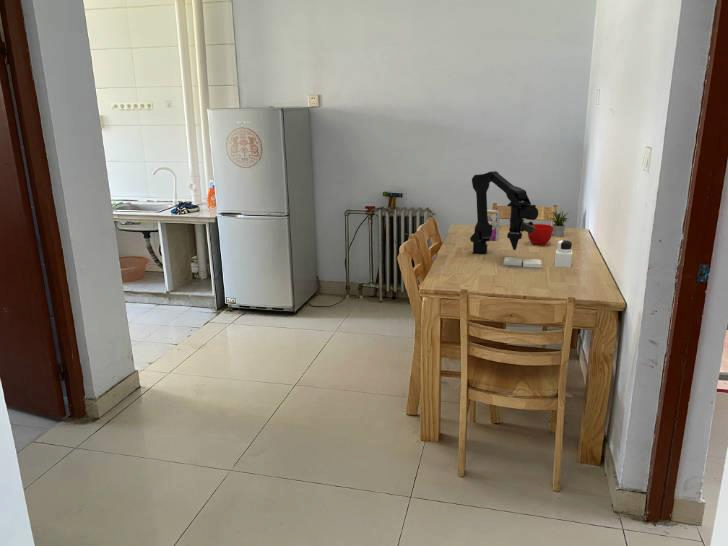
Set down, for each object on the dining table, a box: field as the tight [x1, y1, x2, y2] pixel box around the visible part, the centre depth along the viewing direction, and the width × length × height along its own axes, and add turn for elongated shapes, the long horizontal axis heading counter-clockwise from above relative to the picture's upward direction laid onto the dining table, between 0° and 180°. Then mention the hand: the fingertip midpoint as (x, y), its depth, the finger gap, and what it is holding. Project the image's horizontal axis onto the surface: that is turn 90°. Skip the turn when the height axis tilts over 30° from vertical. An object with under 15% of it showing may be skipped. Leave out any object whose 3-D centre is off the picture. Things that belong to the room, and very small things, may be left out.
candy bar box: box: [487, 209, 501, 242], centre depth 318 cm, size 11×5×16 cm, turn 58°
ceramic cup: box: [527, 223, 553, 247], centre depth 306 cm, size 13×17×10 cm
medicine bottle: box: [554, 239, 573, 269], centre depth 263 cm, size 7×7×12 cm
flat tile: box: [523, 258, 543, 269], centre depth 263 cm, size 8×8×2 cm
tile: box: [503, 256, 524, 267], centre depth 267 cm, size 8×2×8 cm
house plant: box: [547, 207, 571, 238], centre depth 325 cm, size 14×14×16 cm
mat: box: [503, 263, 541, 270], centre depth 268 cm, size 16×16×1 cm
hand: (514, 249), depth 268 cm, fingers closed
